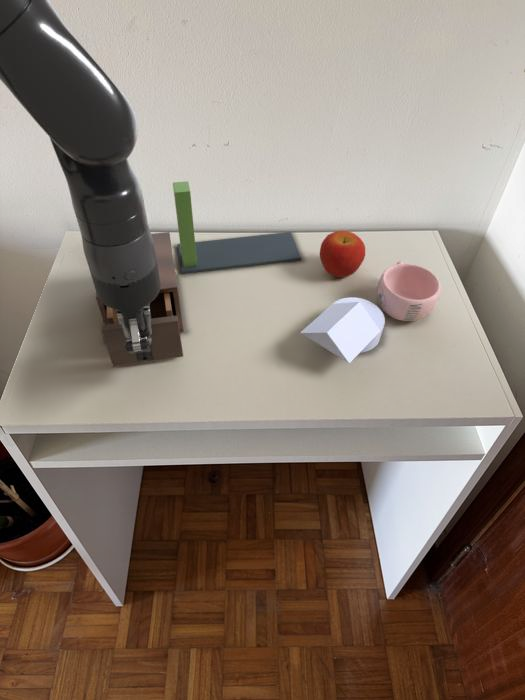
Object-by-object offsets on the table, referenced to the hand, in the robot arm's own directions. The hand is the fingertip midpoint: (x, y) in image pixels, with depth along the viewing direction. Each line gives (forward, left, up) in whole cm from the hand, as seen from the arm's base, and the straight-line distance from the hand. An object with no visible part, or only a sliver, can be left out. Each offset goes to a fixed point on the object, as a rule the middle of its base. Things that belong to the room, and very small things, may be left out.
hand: (145, 357), depth 70 cm
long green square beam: (+9, +25, -4) cm, 27 cm away
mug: (+43, +8, -5) cm, 44 cm away
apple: (+35, +18, -5) cm, 40 cm away
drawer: (0, +8, -4) cm, 9 cm away
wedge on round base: (+31, +2, -5) cm, 31 cm away
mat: (+18, +27, -5) cm, 33 cm away
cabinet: (0, +15, -5) cm, 16 cm away
